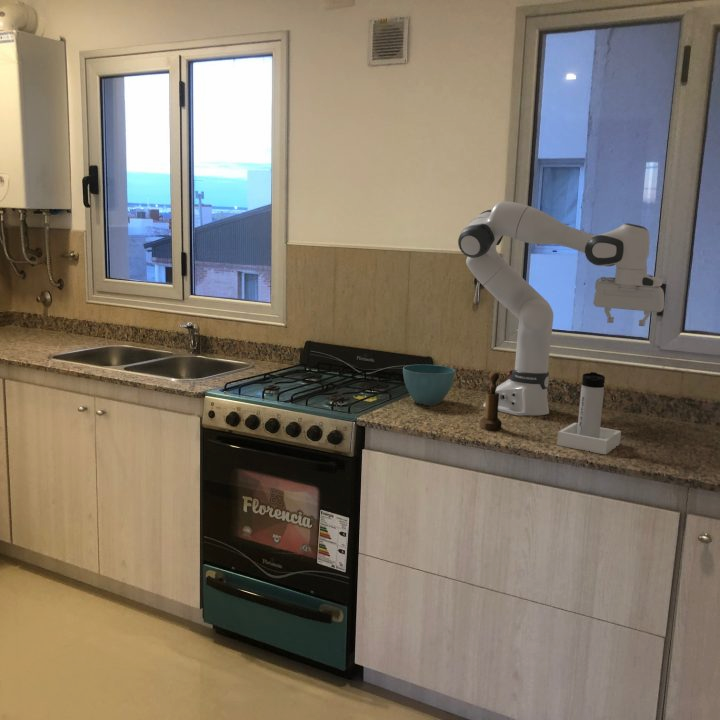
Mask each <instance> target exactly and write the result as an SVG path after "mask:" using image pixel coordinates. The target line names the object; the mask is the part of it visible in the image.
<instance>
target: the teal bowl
mask: <svg viewBox="0 0 720 720" xmlns="http://www.w3.org/2000/svg"><path fill="white" fill-rule="evenodd" d="M402 374H403V381H404V385H405V387H406V389H407V392H408V393H409V396H410V397H411V398H412V400H413V401H414V402H415V404H418V403H419V404H418V405H421V404H424V405H423V406H436V405H437V406H438V405H439V404H440V403H441V402H442V401H443V400H444V399H445V398H446V397H447V396H448V394H449V392H450V389H451V388H452V385H453V382H454V378H455V375H456V370H455V369H454V368H452V367H449V366H443V365H437V364H436V365H435V364H409V365H405V366H403V368H402Z"/></svg>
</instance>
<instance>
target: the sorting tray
mask: <svg viewBox="0 0 720 720" xmlns="http://www.w3.org/2000/svg"><path fill="white" fill-rule="evenodd" d="M577 429H578V422H573V423H571V424H569V425H567V426H566V427H564V428H562V429H560V430H558V431H557V439H556V441H557V442H556V446H559V447H564V448H565V447H566V448H570V449H575V450H580V451H584V450H585V452H589V451H590V453H596V454H601V455H604V454H605V455H607V454H609V453H610V452H611V451H612V449H613V450H614V449H615V448H617V447H618V446H619V445H620V444H621V438H622V436H621V435H622V430H618V429H611V428H606V427H601V426H600V435H599V438H594V437H588V436H583V435H578V434H577ZM616 446H617V447H616ZM605 455H604V456H605Z"/></svg>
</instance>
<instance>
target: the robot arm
mask: <svg viewBox="0 0 720 720" xmlns="http://www.w3.org/2000/svg"><path fill="white" fill-rule="evenodd" d="M503 237H509V238H511V239H513V240H516V241H517V240H518V241H520V242H523V243H527V244H532V245H533V244H534V245H555V246H562V247H566V248H569V249H571V250H575V251H578V252H581V253H582V254H583V253H584V255H585V257H586V260H588V262H590V263H591V264H593V265H595V266H598V267H613V266H615V274H614V277H611V276H610V277H606V276H601V277H599V278H597V279H596V281H595V283H594V289H595V292H594V296H593V303H592V304H593V305H594V306H595V308H596V307H597V308H604V314H605V316H606V318H607V319H606V323H608V324H613V323H614V319H615V317H614V316H612V315H611V311H612V309H618V310H628V311H637V312H638V311H641V312H643V316H644V317H643V318H642V319H639V321H638V326H639V327H645V326H646V321H647V320H648V318H649V317H650V316H651V313H660V312H662V311H663V310H664V309H665V293H664V289H663V288H662V287H661V286H662V285H663V279H661V278H659V277H656V276H653V275H651V274H648V273H647V272H648V265H647V260H648V257H649V255H650V241H651V239H650V238H651V236H650V231H649V230H648V229H647V227H644V226H642V225H638V224H633V223H623V224H622V225H620V226H619V227H617V228H615V229H612V230H610V231H608V232H604V233H600V234H595V233H594V234H593V233H590V232H587V231H583V230H580V229H578V228H575V227H571V226H569V225H566V224H564V223H563V222H562V221H561V220H558V219H556V218H555V217H553V216H551V215H550V214H548V213H546V212H545V211H542V210H541V209H538V208H535V207H533V206H531V205H530V206H529V205H527V204H524V203H521V202H520V203H519V202H515V201H508V200H507V201H506V200H501V201H498V202H496V204H494V206H493V207H492V209H487V210H485V211H483V212H481V213H479V215H477V216H475V218H473V219H472V220H470V221H469V224H468V225H467V226H466V227H464V228H463V229H462V231H461V232H460V234H459V237H458V241H457V243H458V248H459V250H460V251H461V253H462V254H463V255H464V256H466V260H465V264H466V266H467V268H468V270H469V271H470V272H471V274H472V275H473V276H474V277H475V279H476V280H477V281H478V282H479V283H480V285H482V286H483V287H484V288H485V289H486V291H488V293H490V294H491V296H493V297H494V298H495V299H496V300H497V301H498V302H499V303H500V304H501V305H502V306H504V308H505V309H507V310H508V311H509V312H510V313H511V314H512V315H513V316H515V317H516V318H517V319H518V326H517V336H516V347H515V348H516V350H515V363H514V368H512V369H511V370H509V371H507V376H508V379H507V380H505V381H503V382H502V383H500V384H499V385H496V386H497V388H496V391H495V392H497V393H499V402H498V412H502V413H504V414H505V413H506V414H510V415H515V416H517V417H519V416H544V415H545V416H546V415H549V414H550V409H549V404H548V388H549V381H550V380H549V379H550V378H549V377H550V375H549V374H550V372H549V363H550V362H549V361H550V350H551V342H552V333H553V324H554V323H553V322H554V312H553V311H554V310H553V308H552V306H551V305H550V303H549V302H548V300H546V299H545V298H544V297H543V296H542V295H541V294H540V293H539V292H538V291H537V290H536V289H535V288H533V286H532V285H531V284H529V283H528V282H527V280H525V279H524V278H523V277H522V276H521V275H520V274H519V273H518V272H517V271H516V269H514V268H513V267H512V266H511V265H510V264H509V263H508V262H507V261H506V260H505V259H504V258H503V257H502V256H500V254H499V253H498V251H497V246H499V245H500V244H501V242H502V240H503ZM482 406H483V407H482V408H485V406H486V401H484V402H483V405H482Z"/></svg>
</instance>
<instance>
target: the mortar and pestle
mask: <svg viewBox="0 0 720 720" xmlns="http://www.w3.org/2000/svg"><path fill="white" fill-rule="evenodd" d="M488 377H489V380H490V384H489V391H486V393H485V402H486V406H485V407H484V417H482V418H480V419H479V428H480V427H481V428H480V429H482V428H483V429H482V430H484V429H487V430H486V431H491V430H496V431H500V430H501V429H502V421H501V419H500V418H498V416H499V411H498V402H499V393H497V392H495V391H496V388H497V386H498V385H497V381H498V380H499V378H500V375H499V372H498V371H496V370H492V371H490V372H489V375H488ZM499 429H500V430H499Z"/></svg>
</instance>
